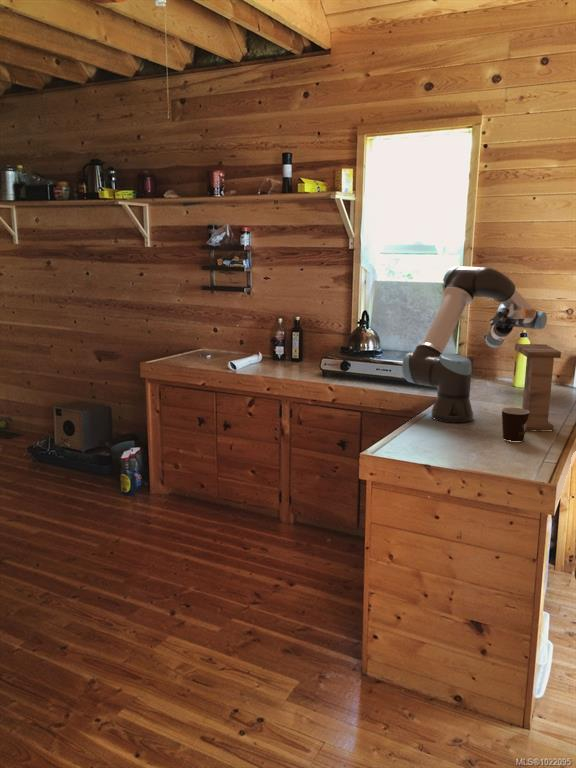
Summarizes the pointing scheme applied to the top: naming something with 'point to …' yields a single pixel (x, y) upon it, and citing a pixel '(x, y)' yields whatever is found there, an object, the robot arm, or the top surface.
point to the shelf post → (538, 383)
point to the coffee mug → (514, 423)
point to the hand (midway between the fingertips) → (517, 307)
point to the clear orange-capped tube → (522, 314)
